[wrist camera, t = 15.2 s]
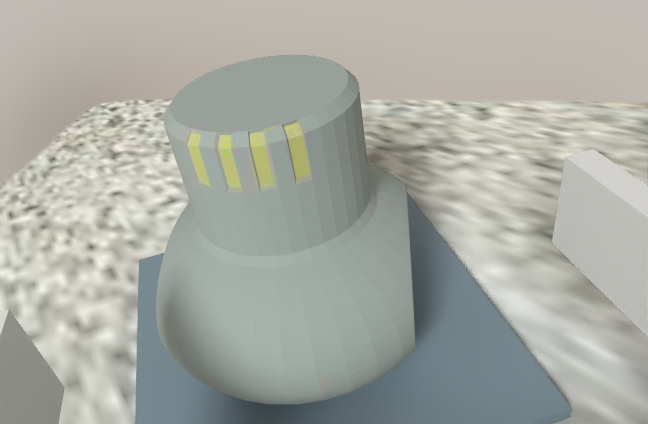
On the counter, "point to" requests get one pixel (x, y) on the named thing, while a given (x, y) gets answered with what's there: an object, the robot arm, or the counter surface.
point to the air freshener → (283, 237)
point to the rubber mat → (395, 386)
